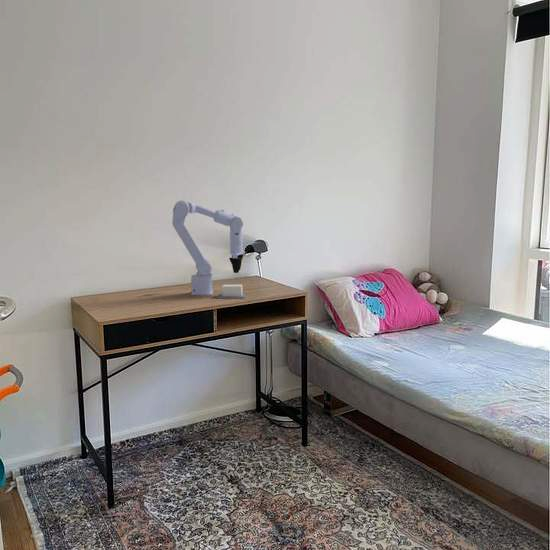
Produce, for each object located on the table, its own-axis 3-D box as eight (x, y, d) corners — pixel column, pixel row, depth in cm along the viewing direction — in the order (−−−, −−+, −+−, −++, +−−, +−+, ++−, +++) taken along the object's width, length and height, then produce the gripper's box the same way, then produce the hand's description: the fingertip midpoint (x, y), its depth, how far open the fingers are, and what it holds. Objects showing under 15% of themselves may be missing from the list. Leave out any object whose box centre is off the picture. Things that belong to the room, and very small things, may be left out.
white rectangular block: (241, 296, 244) (241, 286, 243) (222, 296, 244) (222, 286, 243) (242, 294, 248) (242, 284, 247) (223, 294, 248) (223, 284, 247)
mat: (217, 298, 242) (217, 297, 242) (219, 294, 251) (219, 293, 250) (244, 298, 241) (244, 297, 241) (245, 293, 250) (245, 293, 250)
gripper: (243, 244, 245) (244, 274, 248) (246, 240, 259) (246, 268, 262) (227, 244, 245) (228, 274, 248) (231, 240, 260) (232, 268, 262)
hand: (237, 271), depth 255 cm, fingers open, 7 cm apart
